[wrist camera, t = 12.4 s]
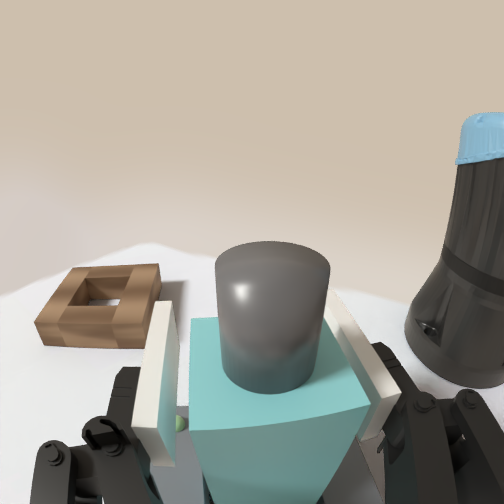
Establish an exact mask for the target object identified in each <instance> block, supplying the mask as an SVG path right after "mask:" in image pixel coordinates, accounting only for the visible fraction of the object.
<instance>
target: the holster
mask: <svg viewBox="0 0 504 504" xmlns="http://www.w3.org/2000/svg"><path fill="white" fill-rule="evenodd" d="M161 286H162V283H161V277H160V270H159V263H157V264H138V265H118V266H98V267H77V268H72V269H71V271H70V272H69V273H68V275H67V276H66V277H65V279H64V280H63V281H62V283H61V284H60V285H59V287H58V288H57V289H56V291H55V292H54V294H53V295H52V296H51V298H50V299H49V301H48V302H47V303H46V305H45V306H44V308H43V309H42V311H41V312H40V314H39V315H38V317H37V318H36V320H35V321H34V323H35V326H36V328H37V331H38V333H39V335H40V337H41V340H42V342H43V344H44V345H50V346H65V347H84V348H123V349H145V345H146V340H147V335H148V331H149V326H150V322H151V317H152V313H153V309H154V304H155V301H158V299H159V294H160V290H161ZM91 299H120V302H119V304H118V305H116V306H87V305H88V303H89V301H90V300H91Z"/></svg>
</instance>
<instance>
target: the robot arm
mask: <svg viewBox="0 0 504 504" xmlns="http://www.w3.org/2000/svg"><path fill="white" fill-rule="evenodd" d="M455 164H456V165H458V167H457V175H456V182H455V188H454V195H453V201H452V206H451V212H450V217H449V222H448V227H447V231H446V235H445V240H444V244H443V249H442V253H441V256H440V259H439V262H438V263H437V265H436V267H435V268H434V270H433V272H432V273H431V274H430V276H429V277H428V279H427V280H426V282H425V284H424V285H423V286H422V288H421V289H420V291H419V292H418V294H417V295H416V297H415V298H414V299H413V301H412V303H411V306H410V308H409V312H408V315H407V318H406V321H405V336H406V339H407V342H408V344H409V346H410V348H411V349H412V351H413V352H414V354H415V355H416V356H417V357H418V359H419V360H420V361H421V362H422V363H423V364H424V365H425V366H427V367H428V368H429V369H430V370H432V371H433V372H434V373H436V374H437V375H439V376H441V377H442V378H444V379H446V380H448V381H451V382H453V383H456V384H459V385H462V386H466V387H471V388H490V387H494V386H498V385H500V384H502V383H504V113H500V112H498V113H497V112H490V113H479V114H475V115H472V116H470V117H469V118H468V119H466V120H465V122H464V123H463V125H462V129H461V137H460V145H459V152H458V158H457V159H456V161H455ZM324 318H325V320H326V322H327V324H328V325H329V327H330V329H331V331H332V333H333V335H334V336H335V338H336V340H337V342H338V344H339V345H340V347H341V349H342V351H343V353H344V355H345V356H346V358H347V360H348V362H349V364H350V366H351V367H352V369H353V371H354V373H355V375H356V377H357V379H358V380H359V382H360V384H361V386H362V388H363V390H364V392H365V394H366V396H367V397H368V399H369V401H370V403H371V405H370V407H369V409H368V412H367V414H366V416H365V418H364V420H363V422H362V424H361V426H360V428H359V430H358V432H357V437H358V439H359V441H364V440H367V439H370V438H374V437H377V436H378V434H379V433H380V431H381V429H383V431H384V433H385V435H386V436H385V438H384V439H383V441H382V442H381V444H380V445H379V447H378V449H377V453H380V451H381V450H382V448H383V451H384V452H383V453H384V469H385V504H504V432H503V431H502V429H501V427H500V426H499V424H498V422H497V421H496V419H495V417H494V416H493V414H492V412H491V411H490V409H489V408H488V406H487V404H486V403H485V401H484V400H483V398H482V397H481V396H480V394H479V393H478V392H476V391H474V390H472V389H462V390H461V391H459V392H458V394H457V395H456V397H455V398H453V399H436V398H435V397H433V396H432V395H431V394H429V393H427V392H420V391H419V390H418V388H417V387H416V385H415V384H414V382H413V381H412V379H411V378H410V376H409V375H408V373H407V372H406V371H405V369H404V368H403V366H401V363H400V362H399V360H398V359H396V356H395V355H394V353H393V352H392V350H391V349H390V348H388V347H387V346H386V345H384V344H383V343H382V342H378V343H373V344H370V342H369V341H368V339H367V338H366V336H365V335H364V333H363V332H362V330H361V329H360V327H359V326H358V324H357V323H356V321H355V320H354V318H353V317H352V315H351V314H350V313H349V311H348V310H347V308H346V307H345V305H344V304H343V302H342V301H341V299H340V298H339V297H338V295H337V294H336V292H335V291H334V289H328V291H327V298H326V305H325V311H324ZM179 352H180V345H179V339H178V334H177V328H176V323H175V317H174V311H173V305H172V301H155V304H154V309H153V313H152V317H151V322H150V326H149V331H148V335H147V340H146V345H145V350H144V355H143V360H142V365H141V367H123V368H122V369H121V370H120V371H119V373H118V374H117V375H116V377H115V381H114V385H113V389H112V393H111V398H110V402H109V406H108V411H107V415H106V416H98V417H95V418H92V419H91V420H89V421H88V422H87V423H86V424H85V426H84V427H83V429H82V438H83V439H84V440H85V442H86V443H87V444H86V445H81V446H74V447H68V446H67V445H65V444H64V443H63V442H60V441H57V440H51V441H48V442H46V443H44V444H43V445H42V446H41V447H40V448H39V450H38V453H37V456H36V462H35V468H34V474H33V481H32V489H31V497H30V504H102V496H103V500H104V504H164V503H163V501H162V498H161V496H160V493H159V491H158V488H157V486H156V483H155V481H154V478H153V475H152V474H151V472H150V460H151V462H152V464H153V465H154V466H171V467H175V439H176V406H177V384H178V367H179ZM462 435H463V436H464V437H465V439H466V440H465V439H463V438H462Z"/></svg>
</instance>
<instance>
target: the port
mask: <svg viewBox="0 0 504 504" xmlns="http://www.w3.org/2000/svg"><path fill="white" fill-rule="evenodd" d="M150 472H151V474H152V475H153V478H154V481H155V483H156V486H157V488H158V491H159V493H160V496H161V498H162V501H163V503H164V504H210V503H209V491H208V486H207V483H206V480H205V477H204V475H203V472H202V469H201V466H200V463H199V460H198V457H197V454H196V451H195V448H194V445H193V442H192V439H191V435H190V432H189V406H176V439H175V467H171V466H154V465H153V464H152V462H151V460H150ZM316 504H384V503H383V501H382V498H381V496H380V493H379V491H378V489H377V486H376V484H375V482H374V479H373V477H372V475H371V472H370V470H369V468H368V465H367V463H366V461H365V458H364V456H363V454H362V451H361V449H360V447H359V444H358V442H357V440H356V437H355V438H354V440H353V442H352V444H351V446H350V447H349V449H348V451H347V453H346V455H345V457H344V458H343V460H342V462H341V464H340V465H339V467H338V469H337V470H336V472H335V474H334V476H333V477H332V479H331V480H330V482H329V484H328V485H327V487H326V489H325V490H324V492H323V493H322V495H321V496H320V498H319V499H318V501H317V502H316Z"/></svg>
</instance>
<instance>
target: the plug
mask: <svg viewBox="0 0 504 504" xmlns="http://www.w3.org/2000/svg"><path fill="white" fill-rule="evenodd" d="M215 277H216V293H217V308H218V317H212V318H193V319H191V332H190V363H189V432H190V435H191V439H192V442H193V445H194V448H195V451H196V454H197V457H198V460H199V463H200V466H201V469H202V472H203V475H204V477H205V480H206V483H207V486H208V488H209V491H210V494H211V496H212V499H213V501H214V504H316V502H317V501H318V499H319V498H320V496H321V495H322V493H323V492H324V490H325V489H326V487H327V485H328V484H329V482H330V480H331V479H332V477H333V476H334V474H335V472H336V470H337V469H338V467H339V465H340V464H341V462H342V460H343V458H344V457H345V455H346V453H347V451H348V449H349V447H350V446H351V444H352V442H353V440H354V438H355V436H356V434H357V432H358V430H359V428H360V426H361V424H362V422H363V420H364V418H365V416H366V414H367V412H368V409H369V407H370V405H371V403H370V401H369V399H368V397H367V396H366V394H365V392H364V390H363V388H362V386H361V384H360V382H359V380H358V379H357V377H356V375H355V373H354V371H353V369H352V367H351V366H350V364H349V362H348V360H347V358H346V356H345V355H344V353H343V351H342V349H341V347H340V345H339V344H338V342H337V340H336V338H335V336H334V335H333V333H332V331H331V329H330V327H329V325H328V324H327V322H326V320H325V318H324V311H325V305H326V298H327V291H328V284H329V277H330V265H329V262H328V261H327V259H325V257H324V256H322V255H321V254H320V253H318V252H316V251H314V250H312V249H310V248H307V247H305V246H301V245H297V244H293V243H287V242H277V241H276V242H275V241H262V242H252V243H246V244H242V245H238V246H235V247H233V248H230V249H228V250H227V251H225V252H223V253H222V254H221V255H220V256H219V257H218V258H217V260H216V262H215Z"/></svg>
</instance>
